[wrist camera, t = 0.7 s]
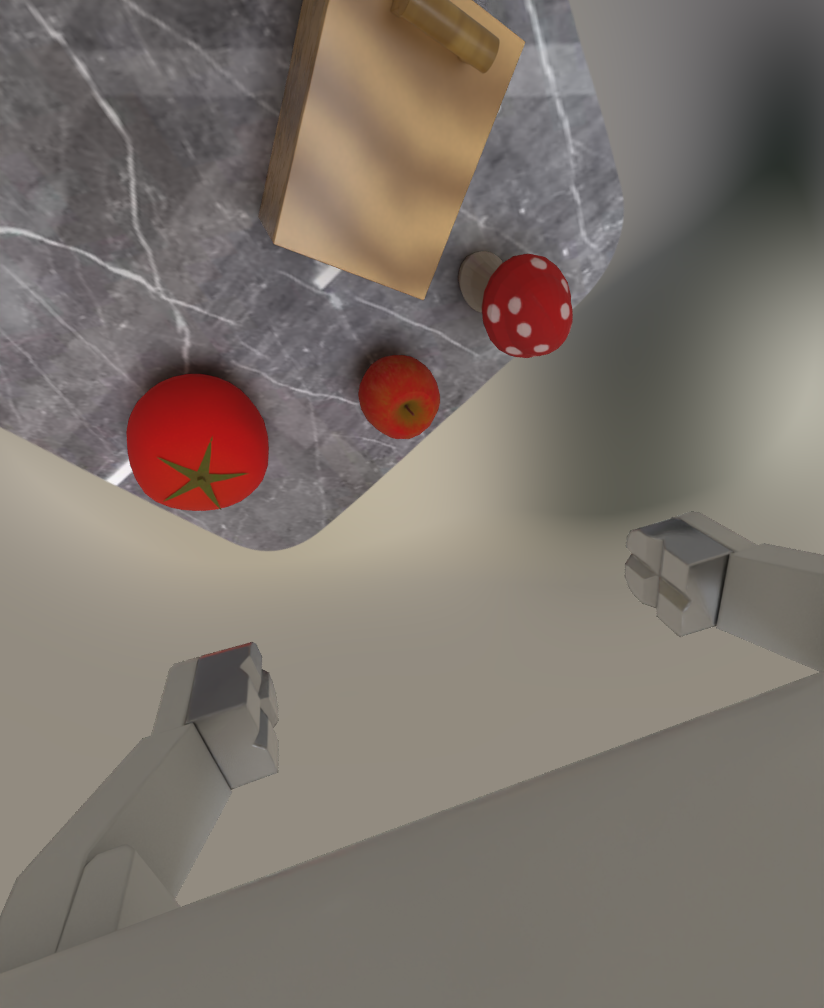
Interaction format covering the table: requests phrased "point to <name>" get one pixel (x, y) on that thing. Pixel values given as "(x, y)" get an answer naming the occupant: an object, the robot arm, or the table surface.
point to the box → (291, 110)
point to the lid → (392, 134)
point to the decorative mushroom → (518, 301)
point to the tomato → (197, 443)
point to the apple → (399, 396)
